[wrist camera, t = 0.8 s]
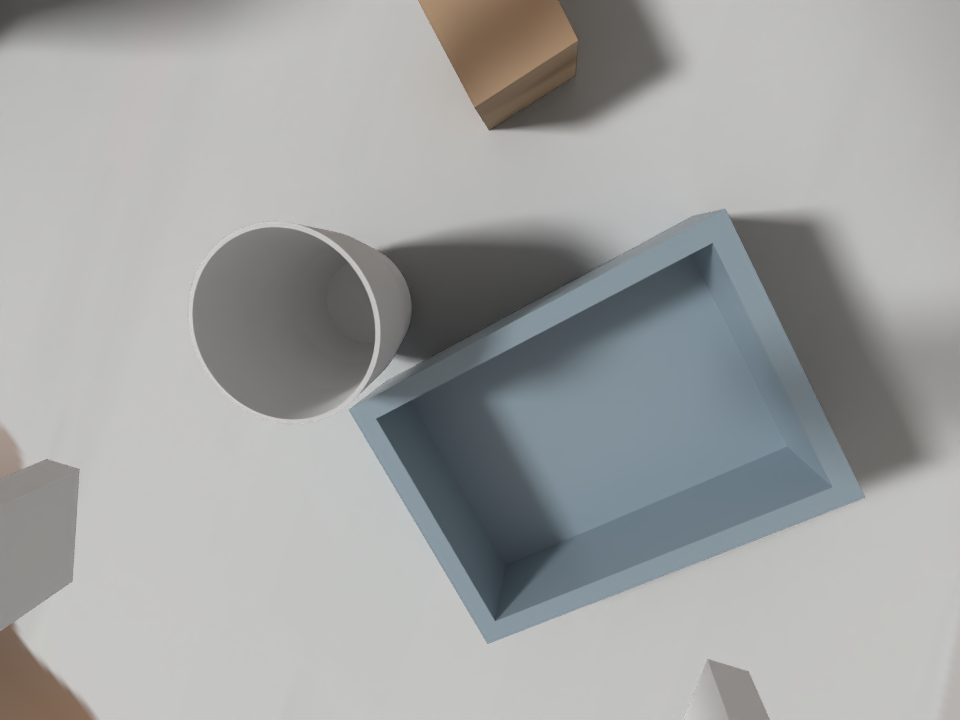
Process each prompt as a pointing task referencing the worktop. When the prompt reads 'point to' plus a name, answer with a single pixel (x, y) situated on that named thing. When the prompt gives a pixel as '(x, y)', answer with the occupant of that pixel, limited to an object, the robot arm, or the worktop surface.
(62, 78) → the worktop surface
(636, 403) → the tote
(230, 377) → the cup
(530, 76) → the walnut cube
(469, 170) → the worktop surface
